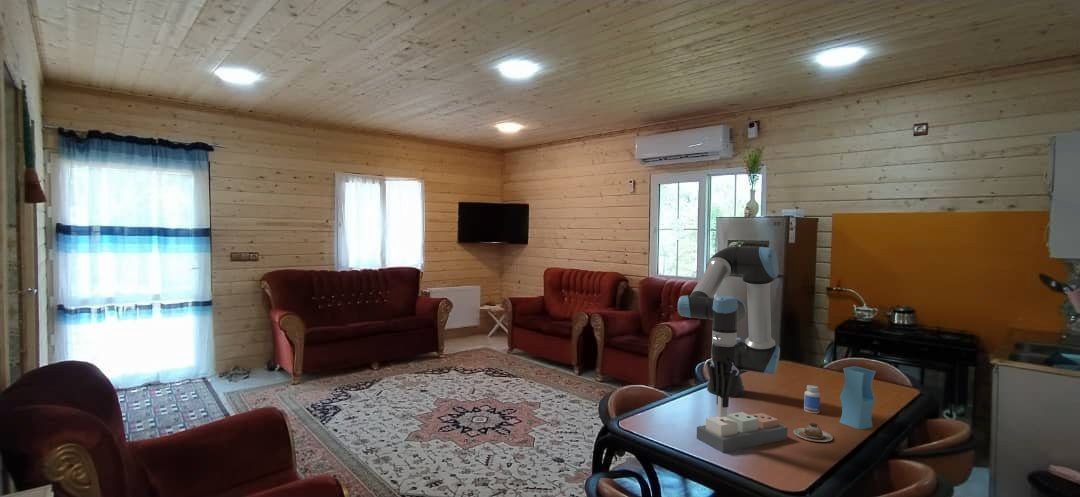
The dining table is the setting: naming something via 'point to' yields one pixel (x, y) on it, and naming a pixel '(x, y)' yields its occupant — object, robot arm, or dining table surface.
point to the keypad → (742, 438)
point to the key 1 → (721, 426)
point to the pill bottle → (812, 399)
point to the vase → (857, 397)
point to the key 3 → (766, 420)
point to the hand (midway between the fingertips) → (722, 416)
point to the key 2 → (744, 421)
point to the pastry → (813, 433)
